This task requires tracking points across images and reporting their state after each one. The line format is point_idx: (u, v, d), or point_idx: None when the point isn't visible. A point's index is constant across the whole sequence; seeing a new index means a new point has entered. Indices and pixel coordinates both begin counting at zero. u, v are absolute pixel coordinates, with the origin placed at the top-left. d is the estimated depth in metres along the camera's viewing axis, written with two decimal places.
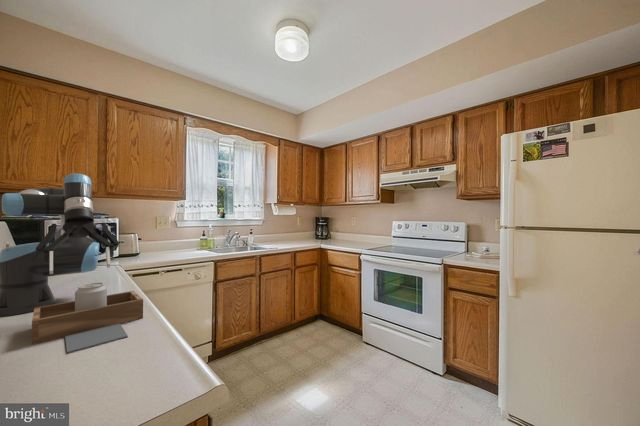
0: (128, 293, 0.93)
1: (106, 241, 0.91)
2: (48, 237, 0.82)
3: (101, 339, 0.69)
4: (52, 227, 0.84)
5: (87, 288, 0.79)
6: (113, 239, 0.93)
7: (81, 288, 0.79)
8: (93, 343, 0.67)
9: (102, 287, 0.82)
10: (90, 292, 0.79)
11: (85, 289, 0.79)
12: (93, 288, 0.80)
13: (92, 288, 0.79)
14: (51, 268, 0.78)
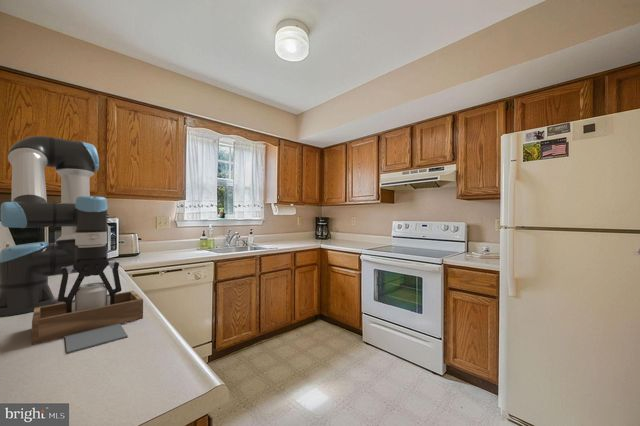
0: (128, 293, 0.93)
1: (110, 288, 0.84)
2: (65, 285, 0.76)
3: (101, 339, 0.69)
4: (63, 273, 0.76)
5: (87, 288, 0.79)
6: (117, 285, 0.85)
7: (81, 288, 0.79)
8: (93, 343, 0.67)
9: (102, 287, 0.82)
10: (90, 292, 0.79)
11: (85, 289, 0.79)
12: (93, 288, 0.80)
13: (92, 288, 0.79)
14: None
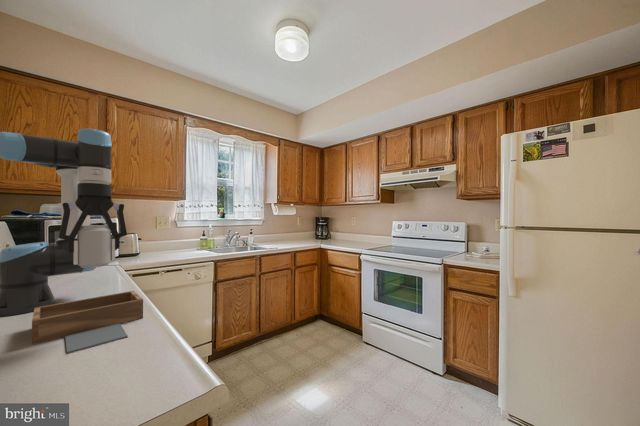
0: (128, 293, 0.93)
1: (114, 230, 0.78)
2: (66, 221, 0.71)
3: (101, 339, 0.69)
4: (65, 208, 0.71)
5: (90, 226, 0.73)
6: (122, 228, 0.80)
7: (84, 226, 0.73)
8: (93, 343, 0.67)
9: (106, 228, 0.76)
10: (93, 230, 0.73)
11: (88, 227, 0.73)
12: (97, 227, 0.74)
13: (95, 227, 0.74)
14: (76, 262, 0.72)
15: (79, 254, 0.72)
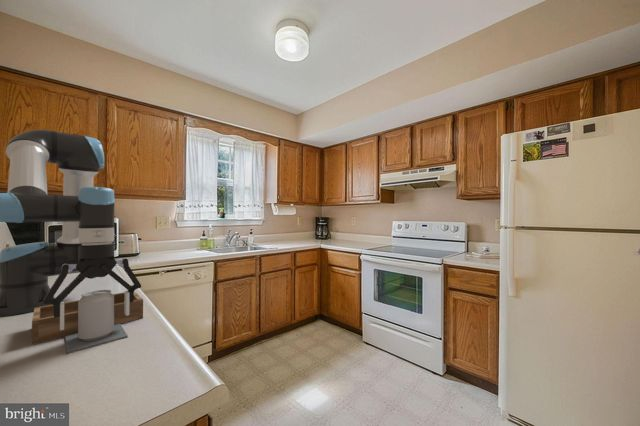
0: None
1: (126, 285, 0.76)
2: (58, 285, 0.66)
3: (101, 339, 0.69)
4: (63, 270, 0.66)
5: (92, 297, 0.69)
6: (135, 281, 0.77)
7: (85, 297, 0.69)
8: (93, 343, 0.67)
9: (109, 295, 0.72)
10: (95, 301, 0.69)
11: (90, 298, 0.69)
12: (99, 297, 0.70)
13: (97, 296, 0.70)
14: (62, 327, 0.66)
15: (80, 327, 0.68)
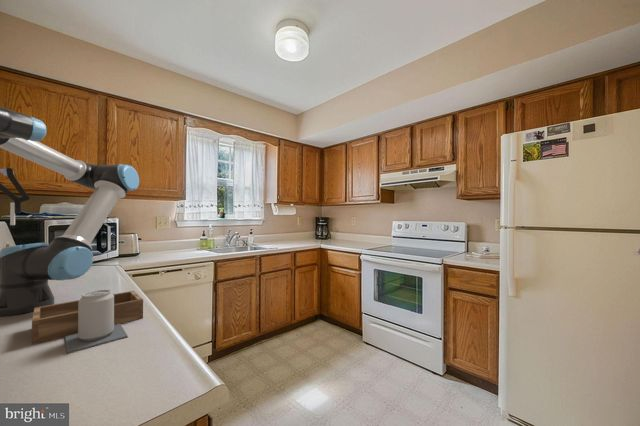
0: (128, 293, 0.93)
1: (11, 194, 0.75)
2: None
3: (101, 339, 0.69)
4: None
5: (92, 297, 0.69)
6: (21, 193, 0.77)
7: (85, 297, 0.69)
8: (93, 343, 0.67)
9: (109, 295, 0.72)
10: (95, 301, 0.69)
11: (90, 298, 0.69)
12: (99, 296, 0.70)
13: (97, 296, 0.70)
14: None
15: (80, 327, 0.68)
